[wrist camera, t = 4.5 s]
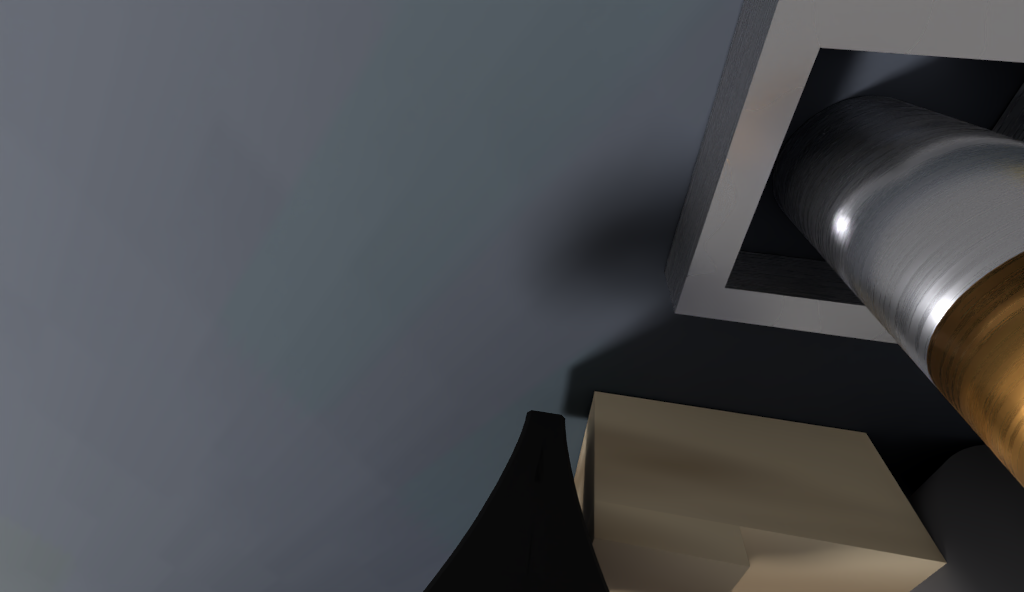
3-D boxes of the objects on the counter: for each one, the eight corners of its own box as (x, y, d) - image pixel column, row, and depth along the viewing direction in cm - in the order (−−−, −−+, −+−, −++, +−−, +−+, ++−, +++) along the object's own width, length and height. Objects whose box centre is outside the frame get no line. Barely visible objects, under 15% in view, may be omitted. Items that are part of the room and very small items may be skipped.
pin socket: (917, 303, 9) (970, 353, 8) (664, 271, 10) (674, 313, 8) (1131, 5, 6) (1273, 7, 5) (748, -17, 7) (786, -22, 5)
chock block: (786, 531, 14) (843, 691, 11) (571, 493, 15) (563, 632, 12) (865, 432, 11) (975, 608, 8) (594, 391, 12) (594, 537, 9)
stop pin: (881, 234, 9) (1264, 553, 4) (752, 219, 9) (951, 499, 4) (959, 102, 7) (1743, 326, 2) (805, 89, 7) (1210, 266, 2)
